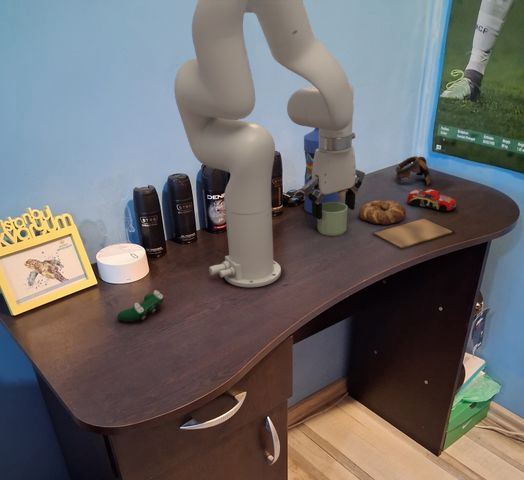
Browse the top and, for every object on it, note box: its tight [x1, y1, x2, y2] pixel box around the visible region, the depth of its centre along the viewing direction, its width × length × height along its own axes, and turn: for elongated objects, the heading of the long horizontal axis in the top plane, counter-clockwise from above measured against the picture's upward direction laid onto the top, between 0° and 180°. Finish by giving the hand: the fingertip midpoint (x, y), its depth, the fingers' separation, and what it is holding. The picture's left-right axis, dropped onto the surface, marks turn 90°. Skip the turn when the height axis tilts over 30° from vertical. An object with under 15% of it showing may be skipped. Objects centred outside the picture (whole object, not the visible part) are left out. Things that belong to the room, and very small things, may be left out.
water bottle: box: [303, 128, 339, 214], centre depth 142 cm, size 9×9×25 cm
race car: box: [406, 188, 457, 213], centre depth 146 cm, size 13×5×4 cm, turn 50°
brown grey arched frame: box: [395, 155, 431, 186], centre depth 162 cm, size 12×10×8 cm
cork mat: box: [373, 218, 453, 249], centre depth 133 cm, size 16×10×1 cm, turn 119°
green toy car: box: [117, 289, 165, 322], centre depth 107 cm, size 9×4×6 cm
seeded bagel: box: [358, 199, 407, 226], centre depth 141 cm, size 12×11×4 cm
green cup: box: [316, 201, 349, 237], centre depth 135 cm, size 7×7×6 cm
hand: (333, 212), depth 135 cm, fingers open, 9 cm apart
